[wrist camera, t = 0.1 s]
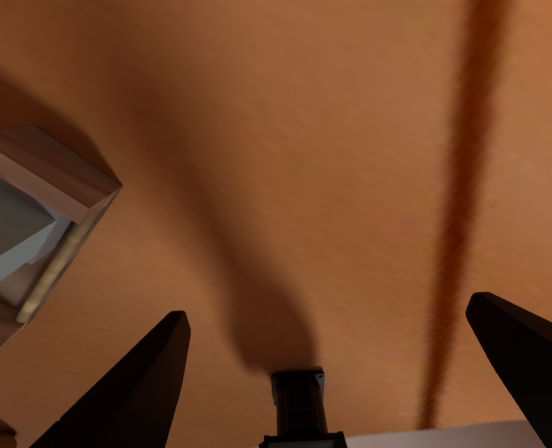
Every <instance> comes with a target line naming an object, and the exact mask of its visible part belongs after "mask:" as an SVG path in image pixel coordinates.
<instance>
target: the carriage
mask: <svg viewBox="0 0 552 448" xmlns="http://www.w3.org/2000/svg"><path fill="white" fill-rule="evenodd" d="M71 221H72V220H70V219H68V218H67V217H65V216H63V215H62V214H60V213H58V212H57V211H55V210H53V209H52V208H50V207H48V206H47V205H45V204H43V203H42V202H40V201H38V200H37V199H35V198H33V197H32V196H30V195H28V194H27V193H25V192H23V191H22V190H20V189H18V188H17V187H15V186H13V185H12V184H10V183H8V182H7V181H5V180H3V179H2V178H0V281H1V280H2V279H4V278H5V277H7V276H8V275H9V274H11V273H12V272H14V271H15V270H16V269H18V268H19V267H21V266H22V265H23V264H25V263H26V262H27V263H29V264H31V265H32V264H33V263H35V262H36V261H37V260H39V259H40V258H41V257H43V256H44V255H46V254H47V253H48V252H50V251H51V250H52V249H54V248H55V247H56V245H57V244H58V242H59V240H60V239H61V237H62V236H63V234H64V232H65V231H66V229H67V228H68V226H69V224H70V223H71Z"/></svg>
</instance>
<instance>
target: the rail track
mask: <svg viewBox="0 0 552 448" xmlns="http://www.w3.org/2000/svg"><path fill="white" fill-rule="evenodd" d="M0 178H2V179H3V180H5V181H7V182H8V183H10V184H12V185H13V186H15V187H17V188H18V189H20V190H22V191H23V192H25V193H27V194H28V195H30V196H32V197H33V198H35V199H37V200H38V201H40V202H42V203H43V204H45V205H47V206H48V207H50V208H52V209H53V210H55V211H57V212H58V213H60V214H62V215H63V216H65V217H67V218H68V219H70V220H72V221H71V223H70V224H69V226H68V228H67V229H66V231H65V232H64V234H63V236H62V237H61V239H60V240H59V242H58V244H57V245H56V247H55V248H54V249H52V250H51V251H50V252H48V253H47V254H46V255H44V256H43V257H41V258H40V259H39V260H37V261H36V262H35V263H33V264H32V265H31V264H29V263H27V262H26V263H25V264H23V265H22V266H21V267H19V268H18V269H16V270H15V271H14V272H12V273H11V274H9V275H8V276H7V277H5V278H4V279H2V280H1V281H0V350H1V349H2V348H3V347H4V346H5V345H6V344H7V343H8V342H9V341H10V340H11V339H12V338H13V337H14V336H15V335H16V334H17V333H19V332H20V331H21V330H22V329H23V328H24V327H25V326H26V325H27V324H28V323H29V322H31V321H32V319H33V318H34V316H35V315H36V313H37V312H38V310H39V309H40V307H41V306H42V304H43V303H44V301H45V300H46V299H47V297H48V296H49V294H50V293H51V291H52V290H53V288H54V287H55V285H56V284H57V282H58V281H59V279H60V278H61V276H62V275H63V273H64V272H65V271H66V269H67V268H68V266H69V265H70V263H71V262H72V260H73V259H74V257H75V256H76V254H77V253H78V251H79V250H80V248H81V247H82V245H83V244H84V243H85V241H86V240H87V238H88V237H89V235H90V234H91V232H92V231H93V229H94V228H95V226H96V225H97V223H98V222H99V220H100V219H101V217H102V216H103V215H104V213H105V212H106V210H107V209H108V207H109V206H110V204H111V203H112V201H113V200H114V198H115V197H116V195H117V194H118V192H119V191H120V189H121V188H122V187H123V186H122V185H121V184H119V183H118V182H116V181H115V180H113V179H112V178H110V177H109V176H108V175H106V174H105V173H103V172H102V171H100V170H99V169H97V168H96V167H94V166H93V165H92V164H90V163H89V162H87V161H86V160H84V159H83V158H81V157H80V156H78V155H77V154H75V153H74V152H73V151H71V150H70V149H68V148H67V147H65V146H64V145H62V144H61V143H59V142H58V141H57V140H55V139H54V138H52V137H51V136H49V135H48V134H46V133H45V132H43V131H42V130H40V129H39V128H38V127H36V126H35V125H26V126H20V127H14V128H7V129H1V130H0Z"/></svg>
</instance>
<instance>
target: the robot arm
mask: <svg viewBox="0 0 552 448" xmlns="http://www.w3.org/2000/svg"><path fill="white" fill-rule="evenodd" d="M466 318H467V320H468V322H469V324H470V326H471V328H472V330H473V332H474V333H475V335H476V337H477V339H478V341H479V343H480V345H481V346H482V348H483V350H484V352H485V354H486V356H487V357H488V359H489V361H490V363H491V365H492V366H493V368H494V370H495V371H496V373H497V374H498V376H499V377H500V379H501V380H502V382H503V383H504V385H505V387H506V388H507V390H508V391H509V393H510V394H511V396H512V397H513V399H514V400H515V402H516V403H517V405H518V406H519V408H520V409H521V411H522V412H523V414H524V415H525V417H526V418H527V420H528V421H529V423H530V424H531V426H532V427H533V429H534V430H535V432H536V433H537V435H538V436H539V438H540V439H541V441H542V442H543V444H544V445H545V447H546V448H552V322H550V321H548V320H546V319H544V318H542V317H540V316H537V315H535V314H533V313H531V312H529V311H527V310H525V309H523V308H521V307H519V306H517V305H515V304H513V303H511V302H509V301H507V300H505V299H503V298H501V297H499V296H496V295H494V294H492V293H490V292H476V293H474V294H473V295H472V296H471V299H470V301H469V304H468V306H467V309H466ZM190 336H191V329H190V325H189V322H188V319H187V315H186V313H185V311H183V310H181V311H171V312H170V313H168V314H167V315H166V316H165V317H164V318H163V319H162V320H161V321H160V322H159V323H158V324H157V325H156V326H155V327H154V328H153V329H152V330H151V331H150V332H149V333H148V334H147V335H146V336H145V337H143V338H142V339H141V340H140V341H139V342H138V343H137V344H136V345H135V346H134V347H133V348H132V349H131V350H130V351H129V352H128V353H127V354H126V355H125V356H124V357H123V358H122V359H121V360H120V361H119V362H118V363H116V364H115V365H114V366H113V367H112V368H111V369H110V370H109V371H108V372H107V373H106V374H105V375H104V376H103V377H102V378H101V379H100V380H99V381H98V382H97V383H96V384H95V385H94V386H93V387H92V388H91V389H90V390H88V391H87V392H86V393H85V394H84V395H83V396H82V397H81V398H80V399H79V400H78V401H77V402H76V403H75V404H74V405H73V406H72V407H71V408H70V409H69V410H68V411H67V412H66V413H65V414H64V415H63V416H62V417H61V418H60V421H56V422H55V423H54V424H53V425H52V426H51V427H50V428H49V429H48V430H47V431H46V432H45V433H44V434H43V435H42V436H41V437H40V438H38V439H37V440H36V441H35V442H34V443H33V444H32V445H31V446H30V447H29V448H165V445H166V442H167V438H168V435H169V431H170V427H171V424H172V420H173V417H174V413H175V410H176V406H177V402H178V399H179V395H180V391H181V387H182V382H183V377H184V371H185V365H186V360H187V354H188V348H189V342H190ZM324 377H325V376H324V372H323V371H306V372H287V373H274V374H272V386H273V397H274V405H275V406H276V407H277V436H269V435H264V441H263V442H262V443H261V444H259V448H347V444H346V441H345V437H344V434H343V431H338V433H328V429H327V423H326V417H325V411H324V406H323V393H324Z"/></svg>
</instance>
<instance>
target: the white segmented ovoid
mask: <svg viewBox="0 0 552 448" xmlns="http://www.w3.org/2000/svg"><path fill="white" fill-rule="evenodd" d="M16 447H17V442H16V439H15V438H14V436H13V435H11V434H10V433H6V432H3V433H0V448H16Z"/></svg>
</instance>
